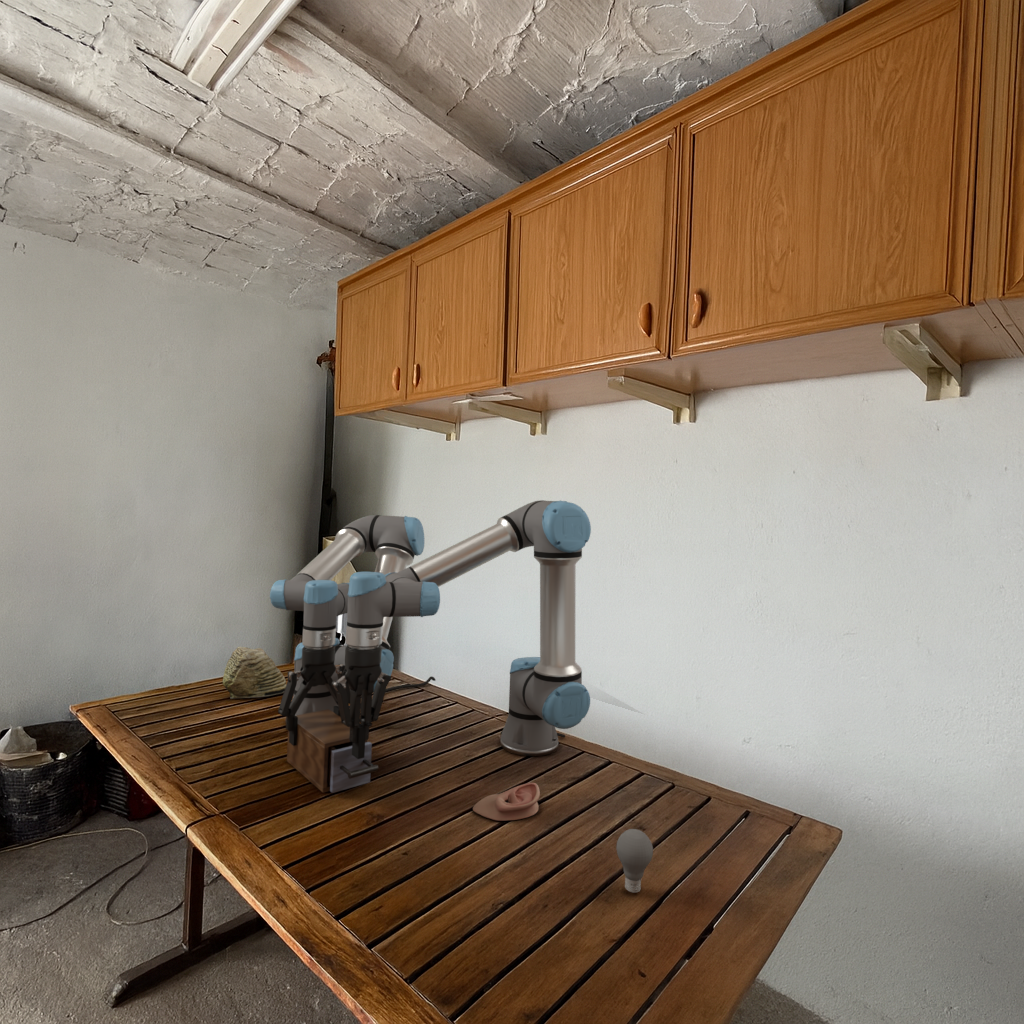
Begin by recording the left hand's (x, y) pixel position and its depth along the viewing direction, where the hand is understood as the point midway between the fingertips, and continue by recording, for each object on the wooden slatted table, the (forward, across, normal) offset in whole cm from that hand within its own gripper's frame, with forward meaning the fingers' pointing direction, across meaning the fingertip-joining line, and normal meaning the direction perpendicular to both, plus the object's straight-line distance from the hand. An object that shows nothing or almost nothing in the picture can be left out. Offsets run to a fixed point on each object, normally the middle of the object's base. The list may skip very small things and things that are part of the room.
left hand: (315, 738), depth 151 cm
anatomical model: (+6, +22, -44) cm, 50 cm away
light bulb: (+6, +21, -78) cm, 81 cm away
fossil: (+6, +6, +58) cm, 58 cm away
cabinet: (+6, 0, -6) cm, 8 cm away
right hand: (-3, 0, -22) cm, 22 cm away
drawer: (+5, 0, -12) cm, 13 cm away
